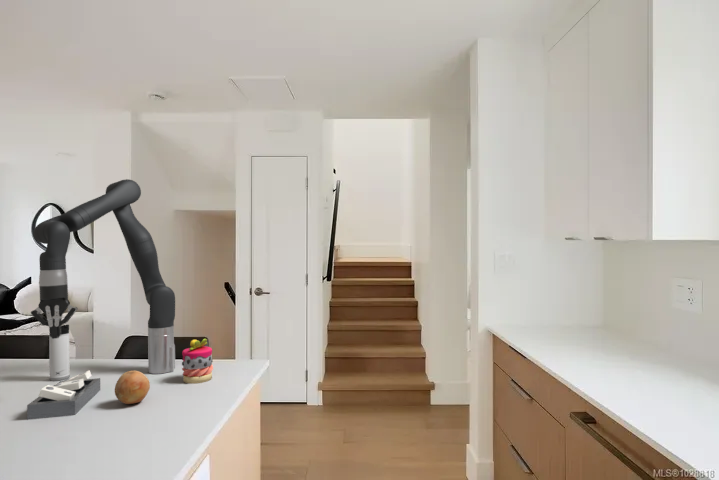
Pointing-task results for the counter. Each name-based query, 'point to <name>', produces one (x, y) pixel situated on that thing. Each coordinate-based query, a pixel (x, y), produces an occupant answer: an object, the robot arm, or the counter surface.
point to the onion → (132, 387)
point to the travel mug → (59, 355)
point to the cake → (197, 362)
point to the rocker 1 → (56, 393)
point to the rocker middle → (71, 385)
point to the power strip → (64, 402)
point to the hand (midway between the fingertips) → (55, 337)
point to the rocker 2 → (79, 377)
